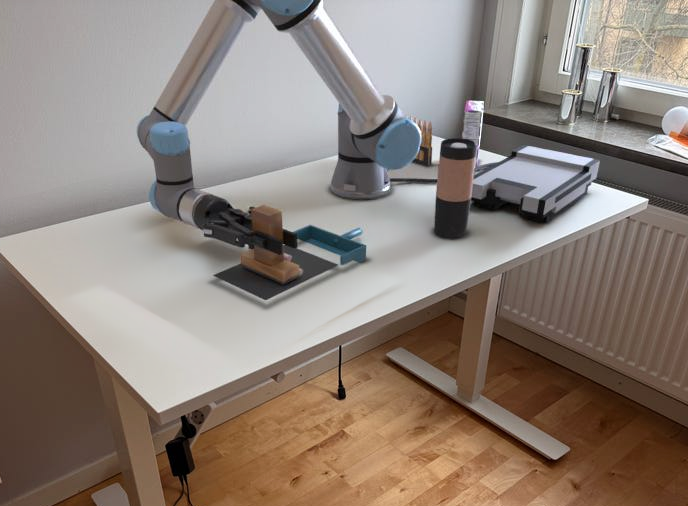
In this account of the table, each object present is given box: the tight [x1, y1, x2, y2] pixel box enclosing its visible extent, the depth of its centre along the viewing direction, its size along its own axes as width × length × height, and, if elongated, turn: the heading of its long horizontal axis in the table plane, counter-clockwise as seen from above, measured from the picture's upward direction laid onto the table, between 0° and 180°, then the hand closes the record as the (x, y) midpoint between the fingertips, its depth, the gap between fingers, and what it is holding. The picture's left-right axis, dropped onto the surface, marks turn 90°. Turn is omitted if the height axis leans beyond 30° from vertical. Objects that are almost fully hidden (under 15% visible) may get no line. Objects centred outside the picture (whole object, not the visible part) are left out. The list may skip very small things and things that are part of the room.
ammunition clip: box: [404, 115, 433, 167], centre depth 197 cm, size 11×2×12 cm, turn 43°
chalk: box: [284, 253, 292, 261], centre depth 142 cm, size 1×5×1 cm, turn 48°
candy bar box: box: [461, 100, 485, 169], centre depth 193 cm, size 11×5×16 cm, turn 168°
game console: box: [471, 144, 601, 224], centre depth 172 cm, size 21×32×8 cm, turn 142°
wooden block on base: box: [239, 204, 299, 284], centre depth 133 cm, size 4×12×12 cm, turn 48°
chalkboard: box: [212, 244, 339, 301], centre depth 139 cm, size 20×15×2 cm
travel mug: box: [433, 137, 477, 240], centre depth 152 cm, size 8×8×20 cm
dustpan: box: [292, 224, 367, 266], centre depth 149 cm, size 15×16×3 cm
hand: (288, 244), depth 130 cm, fingers closed on wooden block on base, 3 cm apart
